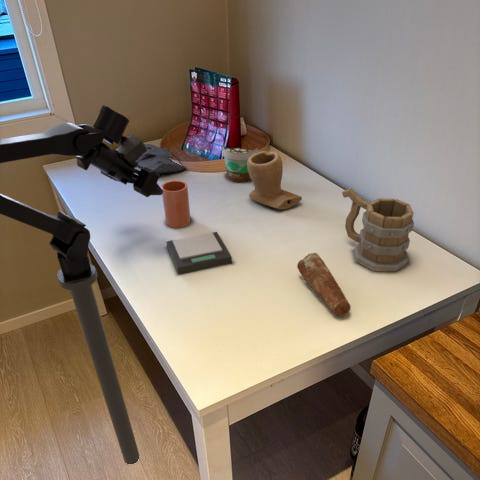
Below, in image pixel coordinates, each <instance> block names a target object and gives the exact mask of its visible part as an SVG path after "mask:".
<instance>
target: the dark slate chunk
mask: <svg viewBox="0 0 480 480" xmlns="http://www.w3.org/2000/svg"><path fill="white" fill-rule="evenodd" d="M144 144H145V146H146V148H147V151H146V152H145V153H143V154H142V155H141V157H140V158H139V159H138V160H136V162H137V163H138V165H137V167H140V168H141V169H142V168H145V167H147V168H149V169H151V170H153V171H155V172H156V173H158V174H159V175H161V174H168V173H177V172H182V171H185V170H186V167H185V166H184V165H182V166H183V167H182V166H181V165H179V164H177V163H175V162H173V161H172V160H171V159H169V158H174V157H173V155H174V154H173V153H172V152H171V151H170V150H169V149H168V148H166V147H160V146H157V145H155V144H152V143H144ZM167 149H168V150H169V151H168V150H167ZM171 153H172V154H173V155H172V154H171ZM175 158H176V157H175ZM176 159H178V158H176Z"/></svg>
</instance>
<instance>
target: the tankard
mask: <svg viewBox="0 0 480 480" xmlns="http://www.w3.org/2000/svg"><path fill="white" fill-rule="evenodd" d="M341 195H342V197H343V198H349V199H350V200H351V201H352V203H351V207H350V211H349V212H348V215H347V216H346V218H345V224H344V228H345V231H346V235H347V238H349V239H351V240H352V241H353V242H356V243H358V244H356V245H355V246H354V256H355V261H356V263H357V264H359V265H361V266H363V267H365V268H367V269H369V270H371V271H373V272H397V271H398V270H400V269H401V268H402V267H404V266H405V265H407V264H408V263H409V255H408V252H407V250H408V249H409V246H410V242H411V240H410V238H409V234H410V233H411V232H413V230H414V226H415V222H414V219H413V217H414V211H413V208H412V206H411V204H409V203H408V202H405V201H403V200H400V199H398V198H391V197H389V198H385V197H384V198H376V199H374V200H373V201H371V202H370V201H368V200H365V199H363V197H361V196H360V195H359V194H358V192H357V193H356V191H355V190H354V189H353V188H348V189H344V190H342V191H341ZM361 208H362V209H364V210H365V211H364V212H363V213H362V219H361V222H362V226H363V228H362V229H360V230H359V233H358V232H357V231H356V230H355V222H356V220H357V218H358V216H359V214H360V212H361Z"/></svg>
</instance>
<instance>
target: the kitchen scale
mask: <svg viewBox="0 0 480 480" xmlns="http://www.w3.org/2000/svg"><path fill="white" fill-rule="evenodd" d="M223 241H224V240H222V238H221V236H220V234H219V233H218V231H213V232H208V233H203V234H198V235H193V236H188V237H187V236H186V237H181V238H177V239H172V240H166V241H165V242H166V248H167V250H168V253H169V256H170V258H171V260H172V263H173V265H174V267H175V271H176V273H177V274H178V275H182V274H187V273H190V272H196V271H201V270H206V269H209V268H216V267H219V266H225V265H229V264H232V262H233V259H232V255H231V253H230V252H229V250H228V248H227V246H226V245H225V243H224V242H223Z"/></svg>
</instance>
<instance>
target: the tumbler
mask: <svg viewBox="0 0 480 480" xmlns="http://www.w3.org/2000/svg"><path fill="white" fill-rule="evenodd" d="M160 188H161V189H162V190H163V193H162V195H161V197H162V202H163V210H164V217H165V224H166V225H167V226H168V227H170V228H173V229H174V228H175V229H180V228H181V229H182V228H184V227H188V225H190V223H191V220H192V219H191V210H190V209H191V208H190V199H189V190H188V184H187V183H186V182H185V181H182V180H168V181H166V182H164V183H163V184H161V186H160Z"/></svg>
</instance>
